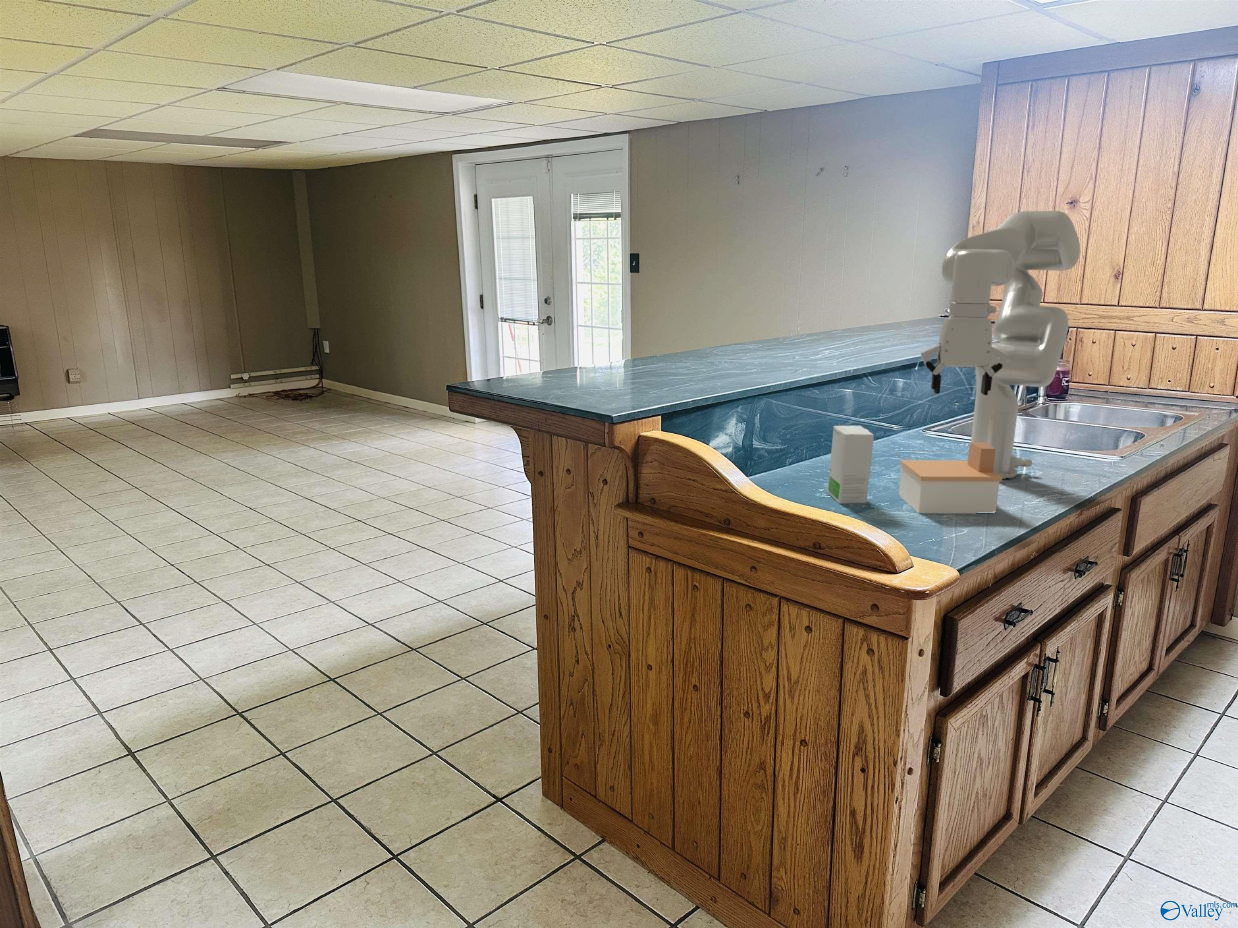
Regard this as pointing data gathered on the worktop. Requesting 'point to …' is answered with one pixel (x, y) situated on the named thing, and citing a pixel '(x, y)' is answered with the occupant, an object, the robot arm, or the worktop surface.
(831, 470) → the skincare box
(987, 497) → the tub
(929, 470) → the lid
